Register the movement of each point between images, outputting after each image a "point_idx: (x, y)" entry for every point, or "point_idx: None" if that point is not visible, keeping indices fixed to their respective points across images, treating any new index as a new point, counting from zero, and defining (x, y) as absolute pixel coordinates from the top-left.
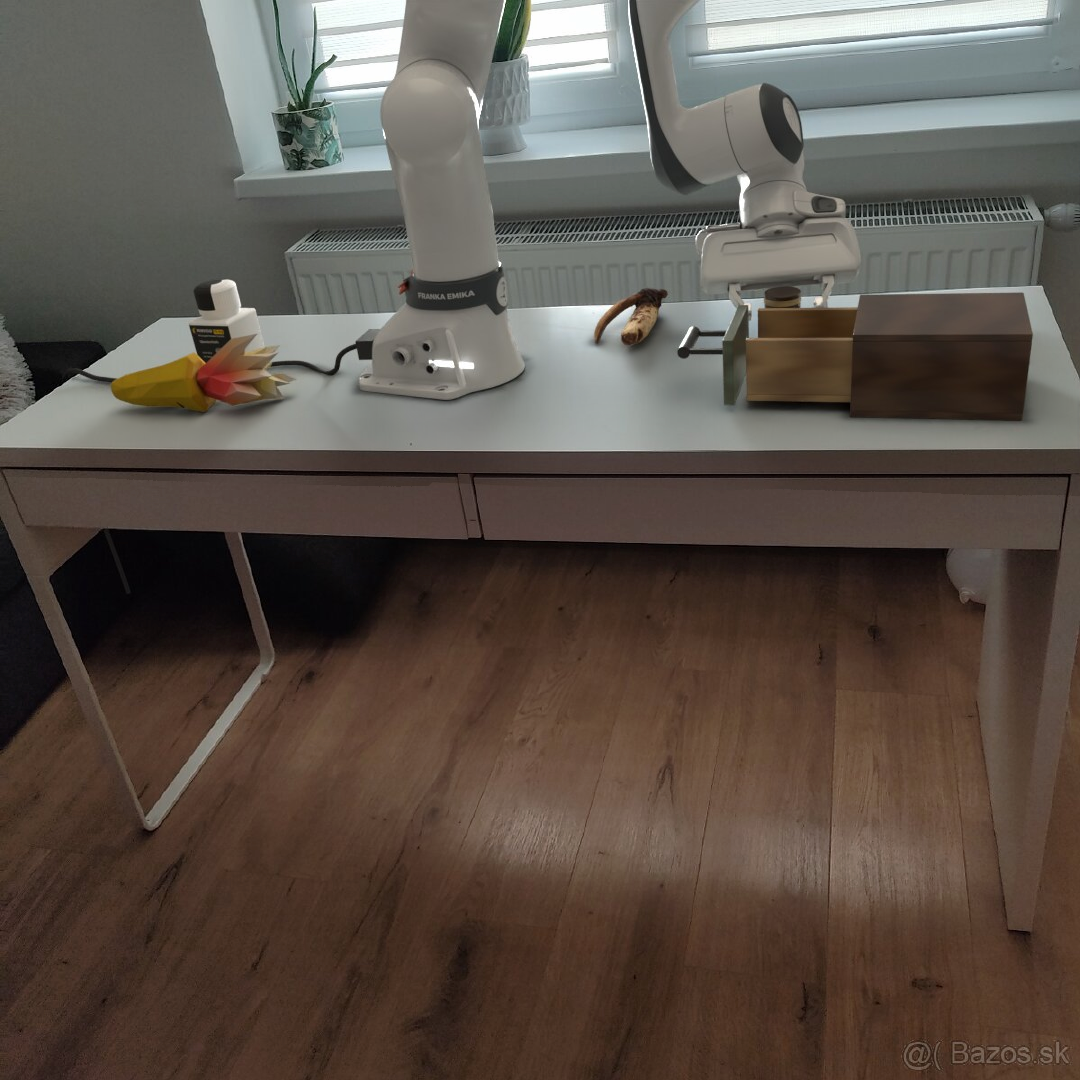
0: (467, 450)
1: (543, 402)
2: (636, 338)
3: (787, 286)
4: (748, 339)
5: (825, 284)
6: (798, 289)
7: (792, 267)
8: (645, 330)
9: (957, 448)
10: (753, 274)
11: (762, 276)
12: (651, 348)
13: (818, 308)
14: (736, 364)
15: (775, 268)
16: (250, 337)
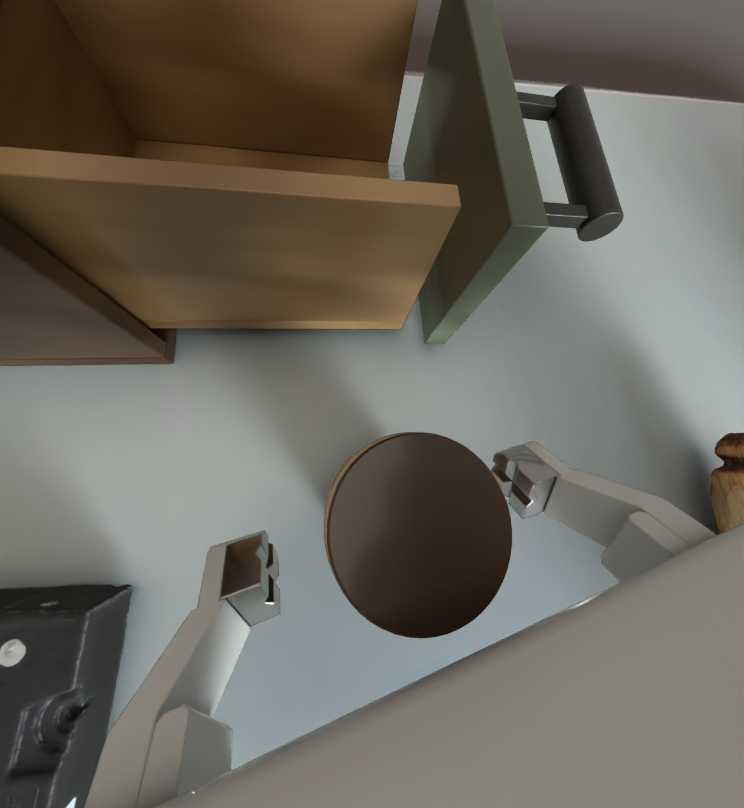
0: (691, 99)
1: (698, 225)
2: (726, 443)
3: (416, 631)
4: None
5: (179, 711)
6: (344, 574)
7: (431, 786)
8: (738, 495)
9: None
10: (667, 599)
11: (598, 607)
12: (668, 484)
13: (196, 174)
14: (427, 110)
15: (568, 718)
16: None
